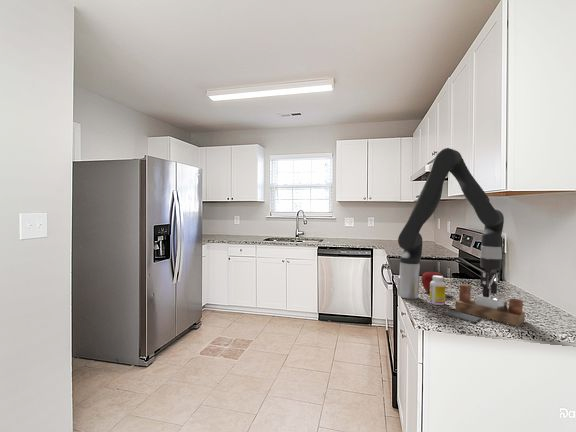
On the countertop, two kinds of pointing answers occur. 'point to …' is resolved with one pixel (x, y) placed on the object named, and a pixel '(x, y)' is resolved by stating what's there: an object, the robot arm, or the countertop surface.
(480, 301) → the lever cap
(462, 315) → the rubber mat
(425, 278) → the apple
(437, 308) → the countertop surface
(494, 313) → the plane body
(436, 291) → the supplement bottle
